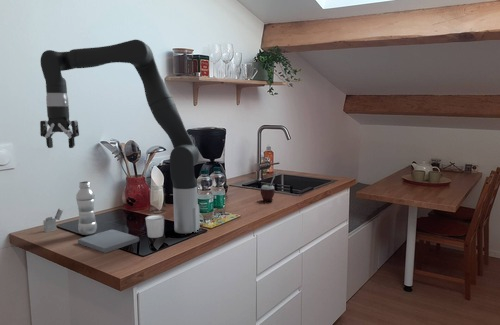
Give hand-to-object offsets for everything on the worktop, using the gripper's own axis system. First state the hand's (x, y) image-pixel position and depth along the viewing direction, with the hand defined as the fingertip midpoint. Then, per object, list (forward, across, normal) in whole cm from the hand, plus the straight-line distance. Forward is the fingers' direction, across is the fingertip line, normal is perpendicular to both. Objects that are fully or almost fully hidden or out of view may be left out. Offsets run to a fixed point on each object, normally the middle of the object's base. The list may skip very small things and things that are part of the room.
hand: (60, 147), depth 156 cm
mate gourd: (+32, -77, -52) cm, 98 cm away
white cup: (+32, -38, +5) cm, 50 cm away
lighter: (+32, +4, +2) cm, 33 cm away
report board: (+32, -24, +14) cm, 42 cm away
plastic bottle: (+32, -12, +6) cm, 35 cm away
